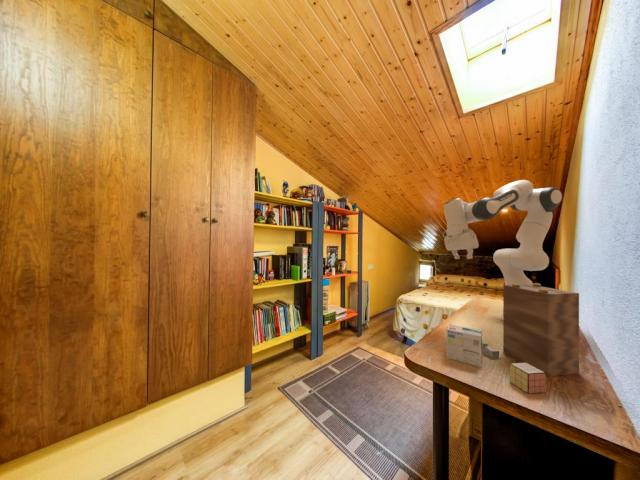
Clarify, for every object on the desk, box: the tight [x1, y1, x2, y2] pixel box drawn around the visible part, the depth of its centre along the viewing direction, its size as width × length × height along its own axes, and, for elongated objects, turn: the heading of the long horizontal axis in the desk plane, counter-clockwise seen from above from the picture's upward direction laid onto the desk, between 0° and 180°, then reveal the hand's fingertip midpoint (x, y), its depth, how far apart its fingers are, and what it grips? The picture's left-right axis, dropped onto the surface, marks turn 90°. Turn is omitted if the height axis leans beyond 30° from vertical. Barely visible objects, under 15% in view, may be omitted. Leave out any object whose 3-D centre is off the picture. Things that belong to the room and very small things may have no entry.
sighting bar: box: [446, 326, 500, 360], centre depth 95 cm, size 3×24×4 cm, turn 8°
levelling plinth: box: [502, 282, 580, 377], centre depth 81 cm, size 12×15×27 cm
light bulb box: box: [446, 324, 483, 368], centre depth 83 cm, size 11×7×11 cm, turn 54°
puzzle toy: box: [509, 362, 546, 394], centre depth 67 cm, size 6×6×6 cm
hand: (463, 258), depth 112 cm, fingers open, 8 cm apart
